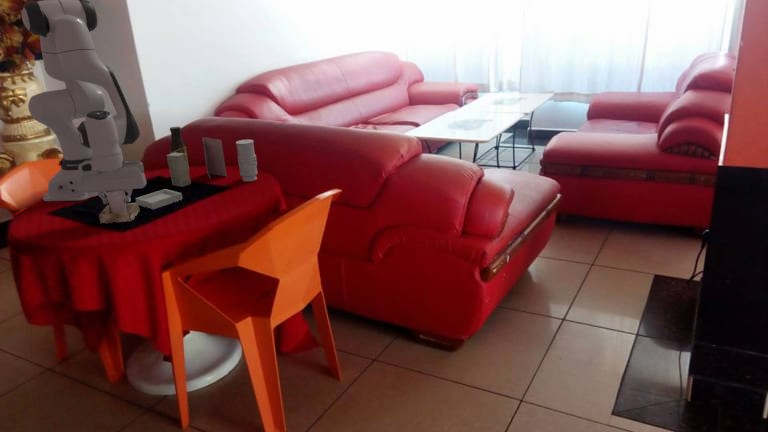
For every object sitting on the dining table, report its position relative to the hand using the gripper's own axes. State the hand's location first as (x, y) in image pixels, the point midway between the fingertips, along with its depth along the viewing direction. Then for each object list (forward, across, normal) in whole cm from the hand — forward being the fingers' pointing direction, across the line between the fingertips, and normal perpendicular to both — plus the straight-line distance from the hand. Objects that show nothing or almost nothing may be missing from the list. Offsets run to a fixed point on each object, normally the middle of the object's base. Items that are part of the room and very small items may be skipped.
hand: (117, 202), depth 197 cm
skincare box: (+5, -14, -33) cm, 36 cm away
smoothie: (+5, 0, 0) cm, 5 cm away
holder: (+5, 0, 0) cm, 5 cm away
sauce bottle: (+5, -12, -46) cm, 48 cm away
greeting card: (+5, -26, -42) cm, 50 cm away
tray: (+5, -10, -13) cm, 17 cm away
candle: (+5, -40, -33) cm, 52 cm away
